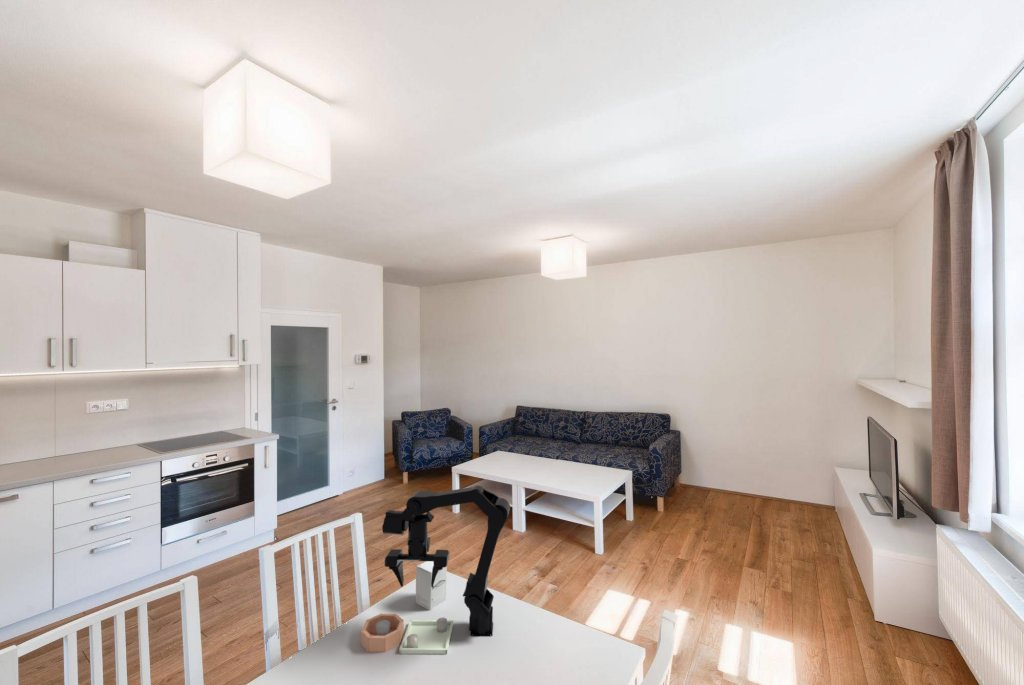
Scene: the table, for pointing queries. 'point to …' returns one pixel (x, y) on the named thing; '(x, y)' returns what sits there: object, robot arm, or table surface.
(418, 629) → the tray
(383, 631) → the grey rounded cylinder
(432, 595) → the supplement box
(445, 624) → the pebble
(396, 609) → the table surface
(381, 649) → the bowl
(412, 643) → the pebble
